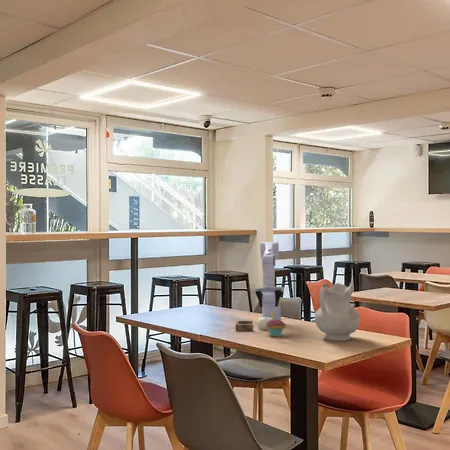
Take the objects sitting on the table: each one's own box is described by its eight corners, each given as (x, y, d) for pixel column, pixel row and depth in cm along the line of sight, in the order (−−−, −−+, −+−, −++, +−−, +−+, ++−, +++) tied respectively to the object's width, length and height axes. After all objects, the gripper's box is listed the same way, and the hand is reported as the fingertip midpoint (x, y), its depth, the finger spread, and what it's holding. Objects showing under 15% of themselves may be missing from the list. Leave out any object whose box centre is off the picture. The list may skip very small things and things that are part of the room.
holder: (252, 326, 278) (252, 320, 278) (252, 330, 267) (252, 324, 267) (235, 326, 278) (235, 320, 278) (235, 330, 267) (235, 324, 267)
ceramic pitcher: (347, 348, 233) (351, 288, 232) (303, 339, 244) (307, 282, 243) (364, 339, 252) (368, 283, 251) (323, 331, 262) (326, 278, 261)
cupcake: (272, 337, 250) (272, 310, 250) (262, 334, 258) (262, 308, 258) (288, 335, 254) (288, 309, 254) (278, 332, 262) (278, 306, 262)
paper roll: (271, 327, 275) (271, 316, 275) (272, 330, 269) (272, 319, 269) (257, 327, 276) (257, 317, 276) (258, 330, 269) (258, 319, 269)
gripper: (252, 277, 273) (251, 305, 269) (281, 276, 268) (281, 304, 264) (256, 281, 279) (256, 308, 275) (284, 279, 275) (285, 307, 270)
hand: (268, 306), depth 270 cm, fingers open, 7 cm apart
